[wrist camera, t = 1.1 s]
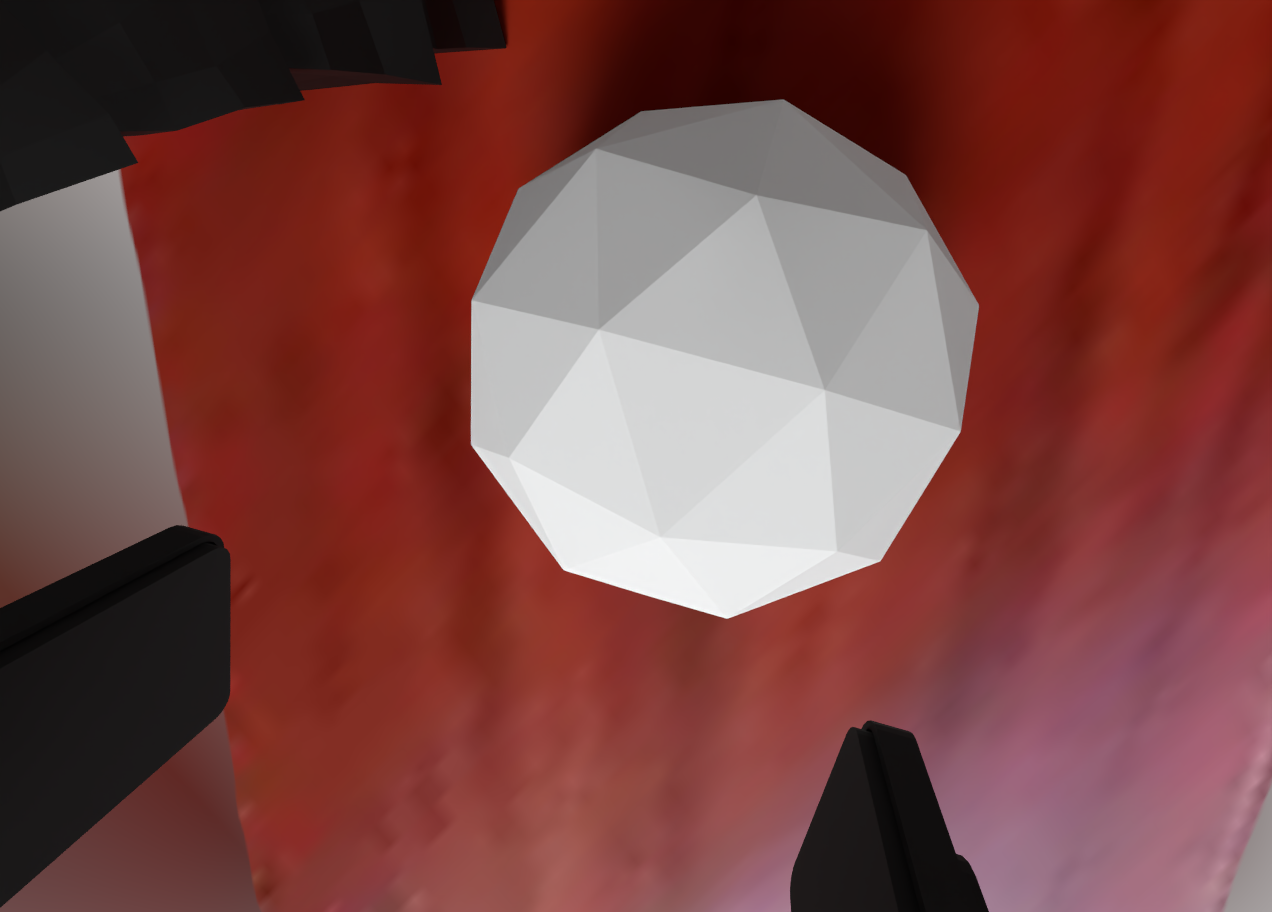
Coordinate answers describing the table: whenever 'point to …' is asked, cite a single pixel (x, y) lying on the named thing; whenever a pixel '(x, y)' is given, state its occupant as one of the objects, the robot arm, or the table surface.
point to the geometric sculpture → (718, 355)
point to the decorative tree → (194, 68)
